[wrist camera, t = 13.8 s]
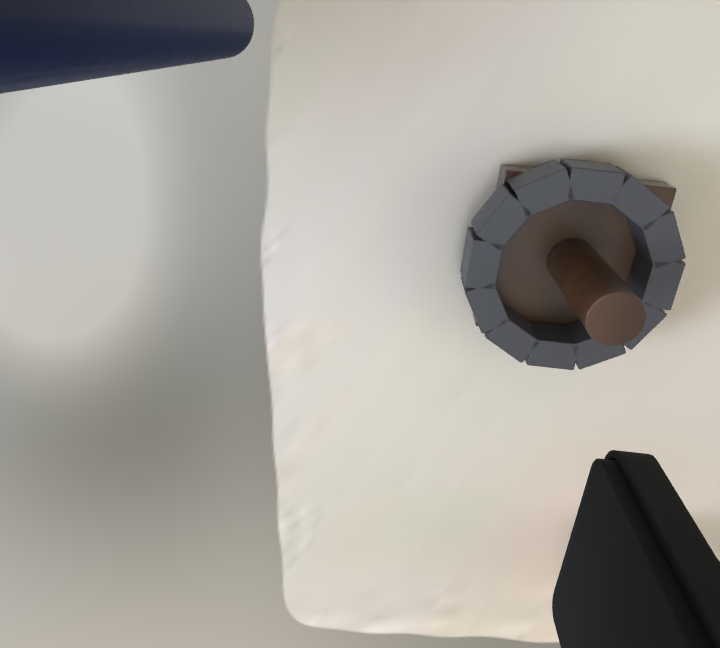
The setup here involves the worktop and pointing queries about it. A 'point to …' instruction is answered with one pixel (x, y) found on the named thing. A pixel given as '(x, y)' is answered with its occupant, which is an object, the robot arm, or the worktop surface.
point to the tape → (539, 193)
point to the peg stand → (575, 267)
